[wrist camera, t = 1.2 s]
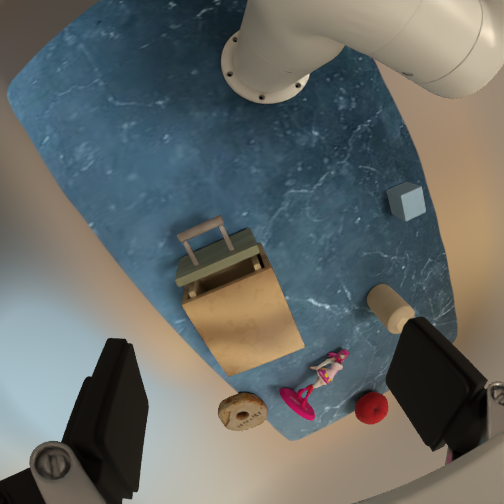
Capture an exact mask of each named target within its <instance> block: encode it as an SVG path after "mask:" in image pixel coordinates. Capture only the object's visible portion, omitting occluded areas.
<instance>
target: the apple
mask: <svg viewBox="0 0 504 504" xmlns="http://www.w3.org/2000/svg"><path fill="white" fill-rule="evenodd" d="M387 412H388V402H387V399H386V397H385V396H383V395H382V394H380V393H377V392H370V393H367V394H365V395H364V396H362V397H361V398H360V399H359V400H358V401H357V403H356V406H355V414H356V417H357V418H358V419H359V420H360V421H361V422H363V423H365V424H375V423H378V422H379V421H381V420H382V419H383V418H384V417H385V416H386V415H387Z"/></svg>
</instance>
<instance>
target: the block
mask: <svg viewBox="0 0 504 504" xmlns="http://www.w3.org/2000/svg"><path fill="white" fill-rule="evenodd" d="M386 192H387V196H388V200H389V205H390V209H391V214H392V215H394V216H396V217H398V218H400V219H402V220H404V221H408V220H410V219H412V218H414V217H416V216H418V215H420V214H422V213H424V212H426V209H425V203H424V197H423V192H422V187H421V186H418V185H415V184H412V183H409V182H404V183H402V184H399V185H397V186H395V187H392V188H390V189H388V190H386Z"/></svg>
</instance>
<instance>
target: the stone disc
mask: <svg viewBox="0 0 504 504" xmlns="http://www.w3.org/2000/svg"><path fill="white" fill-rule="evenodd" d="M267 413H268V409H267V406H266V404H265V403H264V402H263V400H261V399H260V398H259V397H257V396H256V395H253V394H251V393H239V394H236V395H233V396H231V397H229V398H227V399H225V400H223V401H222V402H221V403H220V405H219V408H218V416H219V418H220V419H221V421H222V423H223V424H224V426H225V427H226V428H227V429H230V430H235V431H242V430H247V429H249V428H253V427H255V426H257V425H260V424H262V423H263V422H264V420H265V419H266V417H267Z"/></svg>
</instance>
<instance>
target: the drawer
mask: <svg viewBox="0 0 504 504" xmlns="http://www.w3.org/2000/svg"><path fill="white" fill-rule="evenodd" d="M223 224H224V221H223V219H222V217H221V215H219V216H217V217H214V218H212V219H210V220H208V221H205V222H203V223H201V224H199V225H196V226H194V227H192V228H190V229H188V230H185V231H183V232H181V233H179V234H177V237H178V239H179V241H180V242H181V243H182V242H183V244H184V246H185V248H186V250H187V252H188V254H189V255H186V256H184V257H182V258H180V260H179V264H178V268H177V272H176V276H175V282H176V284H177V285H178V287H181V286H183V285H186V284H188V283H190V284H189V292H188V293H189V295H190V297H191V298H193V297H196V296H198V295H201V294H203V293H205V292H208V291H210V290H213V289H215V288H217V287H220V286H222V285H225V284H227V283H229V282H232V281H234V280H237V279H239V278H241V277H244V276H246V275H248V274H251V273H253V272H255V271H258V270H260V269H263V268H262V266H261V264H260V262H259V259H258V257H257V255H256V254H259V253H260V250H259V248H258V245H257V243H256V241H255V238H254V236H253V233H252V231H251V229H250V228H248V229H246V230H243V231H241V232H239V233H237V234H234V235H232V236H230V237H229V236H228V234H227V232H226V230H225V227H224V225H223ZM218 226H219V229H220V231H221V233H222V235H223V237H224V239H223V240H220V241H218V242H216V243H214V244H211V245H209V246H207V247H204V248H202V249H200V250H198V251H195V252H193V250H192V248H191V246H190V244H189V242H188V240H189V239H191V238H193V237H195V236H198V235H200V234H202V233H204V232H206V231H209V230H211V229H213V228H216V227H218Z"/></svg>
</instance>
